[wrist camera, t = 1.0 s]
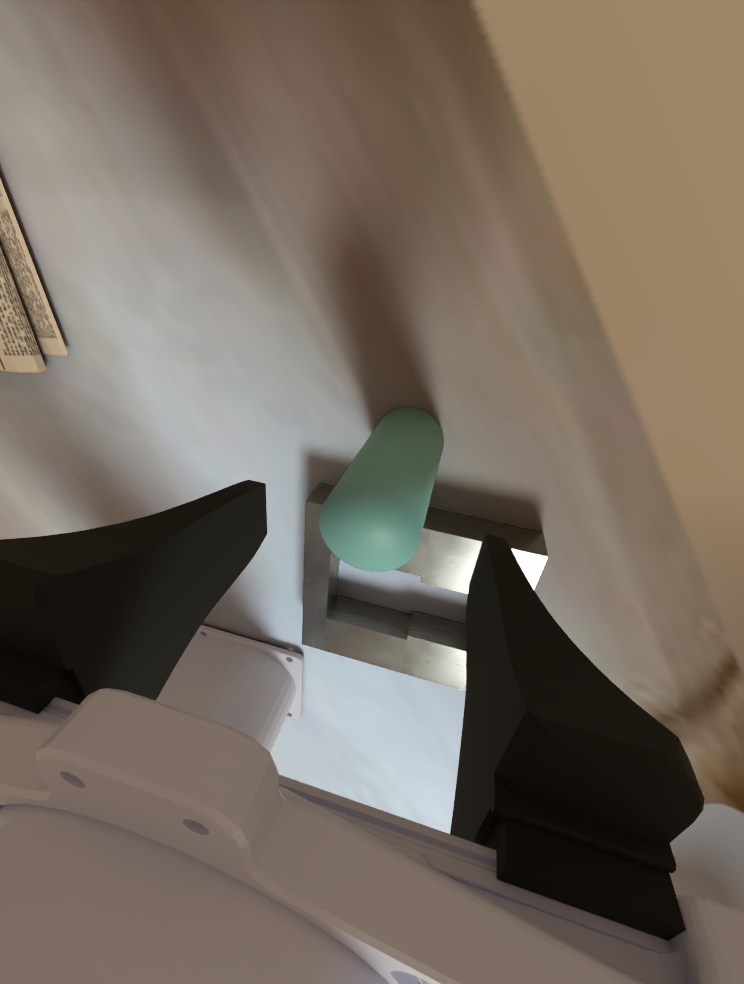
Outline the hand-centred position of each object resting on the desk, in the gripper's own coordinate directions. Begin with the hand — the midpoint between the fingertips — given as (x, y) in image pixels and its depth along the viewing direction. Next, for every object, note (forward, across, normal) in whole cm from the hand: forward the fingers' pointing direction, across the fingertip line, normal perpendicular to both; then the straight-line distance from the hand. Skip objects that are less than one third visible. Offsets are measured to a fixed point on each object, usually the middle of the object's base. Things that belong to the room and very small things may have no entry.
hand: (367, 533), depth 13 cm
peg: (+8, 0, 0) cm, 8 cm away
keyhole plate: (+8, -2, +9) cm, 12 cm away
